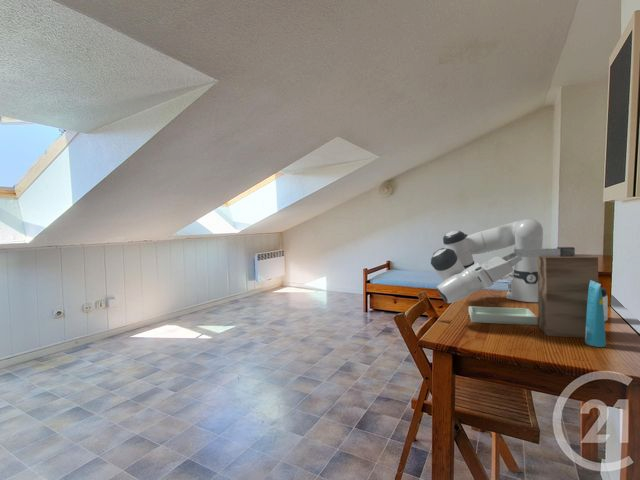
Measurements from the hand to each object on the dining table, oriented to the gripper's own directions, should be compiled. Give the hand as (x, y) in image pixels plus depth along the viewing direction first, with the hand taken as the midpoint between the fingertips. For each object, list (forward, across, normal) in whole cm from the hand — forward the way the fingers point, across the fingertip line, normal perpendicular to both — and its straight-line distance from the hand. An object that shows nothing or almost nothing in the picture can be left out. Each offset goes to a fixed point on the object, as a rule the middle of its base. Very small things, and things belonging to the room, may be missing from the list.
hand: (517, 255), depth 116 cm
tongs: (+6, 0, -4) cm, 8 cm away
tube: (+2, +11, -32) cm, 34 cm away
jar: (+11, -19, -37) cm, 43 cm away
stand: (-1, 0, -30) cm, 30 cm away
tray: (-16, -14, -21) cm, 30 cm away
